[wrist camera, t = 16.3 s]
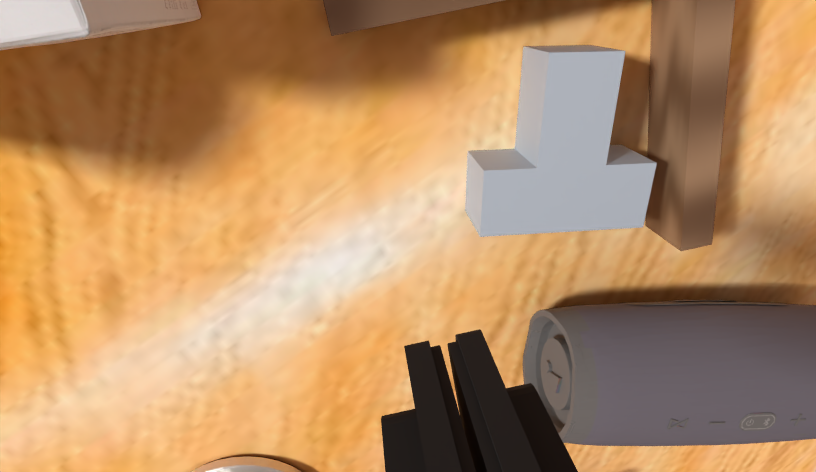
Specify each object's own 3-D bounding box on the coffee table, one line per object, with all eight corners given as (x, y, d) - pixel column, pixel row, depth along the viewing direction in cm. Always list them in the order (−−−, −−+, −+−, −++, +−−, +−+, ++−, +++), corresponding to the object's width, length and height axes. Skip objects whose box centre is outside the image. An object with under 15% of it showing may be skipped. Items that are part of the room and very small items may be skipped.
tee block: (611, 202, 33) (643, 227, 30) (465, 210, 32) (479, 236, 29) (639, 43, 29) (681, 49, 25) (472, 47, 28) (490, 54, 24)
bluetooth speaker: (509, 376, 38) (558, 488, 29) (529, 271, 35) (593, 362, 26) (769, 371, 41) (888, 471, 32) (815, 273, 38) (963, 356, 28)
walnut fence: (673, 219, 34) (712, 244, 30) (391, 281, 34) (396, 313, 30) (690, -83, 26) (744, -97, 23) (324, -8, 26) (320, -11, 22)
